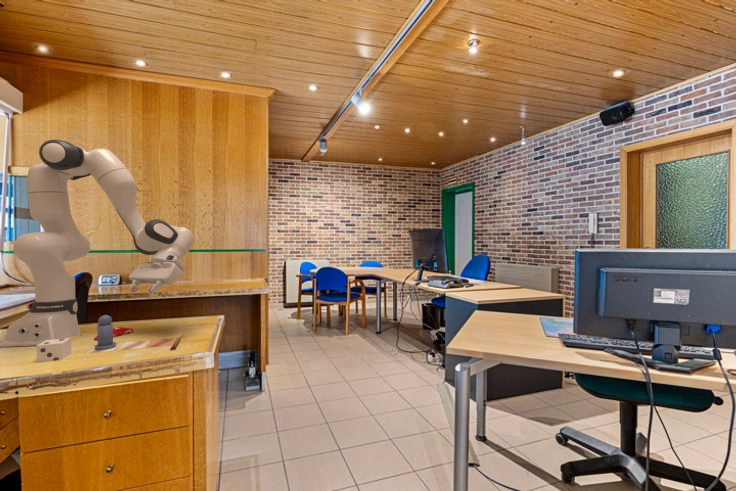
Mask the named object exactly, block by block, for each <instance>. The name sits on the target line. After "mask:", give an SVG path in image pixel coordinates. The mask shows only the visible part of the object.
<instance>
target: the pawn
mask: <svg viewBox="0 0 736 491" xmlns="http://www.w3.org/2000/svg"><path fill="white" fill-rule="evenodd" d="M112 321H113V319H112V316H110V315H108V314H104V315H101V316H100V317H99V318H98V320H97V322H98V325H97V336H98V341H97V344H95V345H94V347H95V350H107V349H111V348H114V347H116V343H117V342H115V341H114V338H113V328H114V326H113V325H114V324H113V322H112Z"/></svg>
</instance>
